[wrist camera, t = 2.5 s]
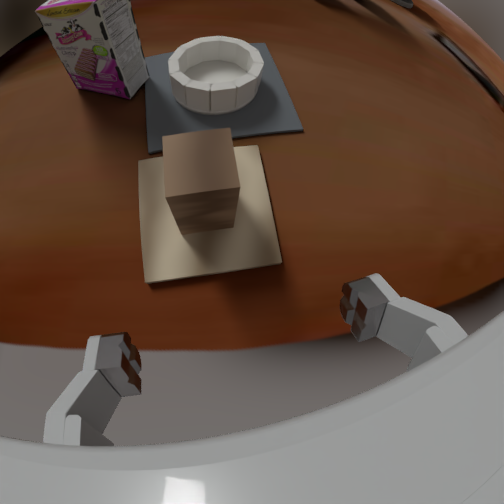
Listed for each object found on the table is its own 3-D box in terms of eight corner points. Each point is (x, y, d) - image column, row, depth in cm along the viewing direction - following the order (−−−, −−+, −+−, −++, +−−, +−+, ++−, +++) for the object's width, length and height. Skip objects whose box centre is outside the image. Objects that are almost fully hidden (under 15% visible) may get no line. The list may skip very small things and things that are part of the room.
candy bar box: (75, 91, 30) (32, 11, 14) (95, 68, 31) (62, -12, 15) (130, 102, 30) (93, 0, 14) (152, 77, 31) (127, -23, 15)
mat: (149, 154, 29) (148, 152, 29) (145, 59, 33) (145, 57, 32) (302, 131, 32) (303, 129, 32) (264, 44, 35) (264, 43, 35)
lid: (148, 283, 27) (111, 265, 17) (140, 166, 29) (115, 108, 19) (279, 264, 28) (311, 236, 18) (256, 150, 31) (271, 88, 21)
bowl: (175, 122, 30) (171, 97, 26) (169, 66, 32) (166, 43, 28) (267, 109, 32) (273, 85, 27) (247, 56, 34) (250, 33, 29)
